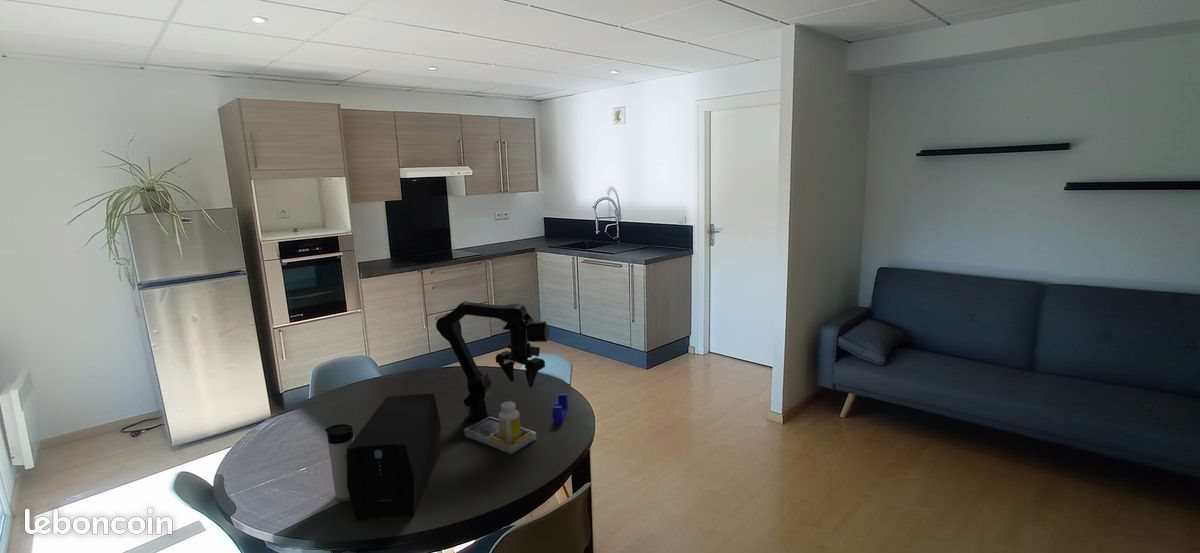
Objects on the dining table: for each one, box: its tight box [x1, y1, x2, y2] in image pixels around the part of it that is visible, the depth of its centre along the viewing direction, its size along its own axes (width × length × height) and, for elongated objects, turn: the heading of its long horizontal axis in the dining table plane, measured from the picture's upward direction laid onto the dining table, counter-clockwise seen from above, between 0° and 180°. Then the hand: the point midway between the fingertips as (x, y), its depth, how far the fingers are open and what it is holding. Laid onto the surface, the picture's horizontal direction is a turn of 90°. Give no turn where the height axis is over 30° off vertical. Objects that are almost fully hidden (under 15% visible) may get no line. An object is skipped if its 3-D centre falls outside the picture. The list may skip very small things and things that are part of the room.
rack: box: [463, 416, 537, 455], centre depth 177 cm, size 22×11×3 cm, turn 53°
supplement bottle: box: [498, 401, 522, 445], centre depth 173 cm, size 7×7×13 cm
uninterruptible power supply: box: [347, 393, 442, 522], centre depth 152 cm, size 16×34×20 cm, turn 5°
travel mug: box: [325, 423, 355, 502], centre depth 146 cm, size 6×7×20 cm
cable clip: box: [552, 393, 569, 425], centre depth 192 cm, size 12×4×6 cm, turn 174°
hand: (521, 384), depth 188 cm, fingers open, 9 cm apart
